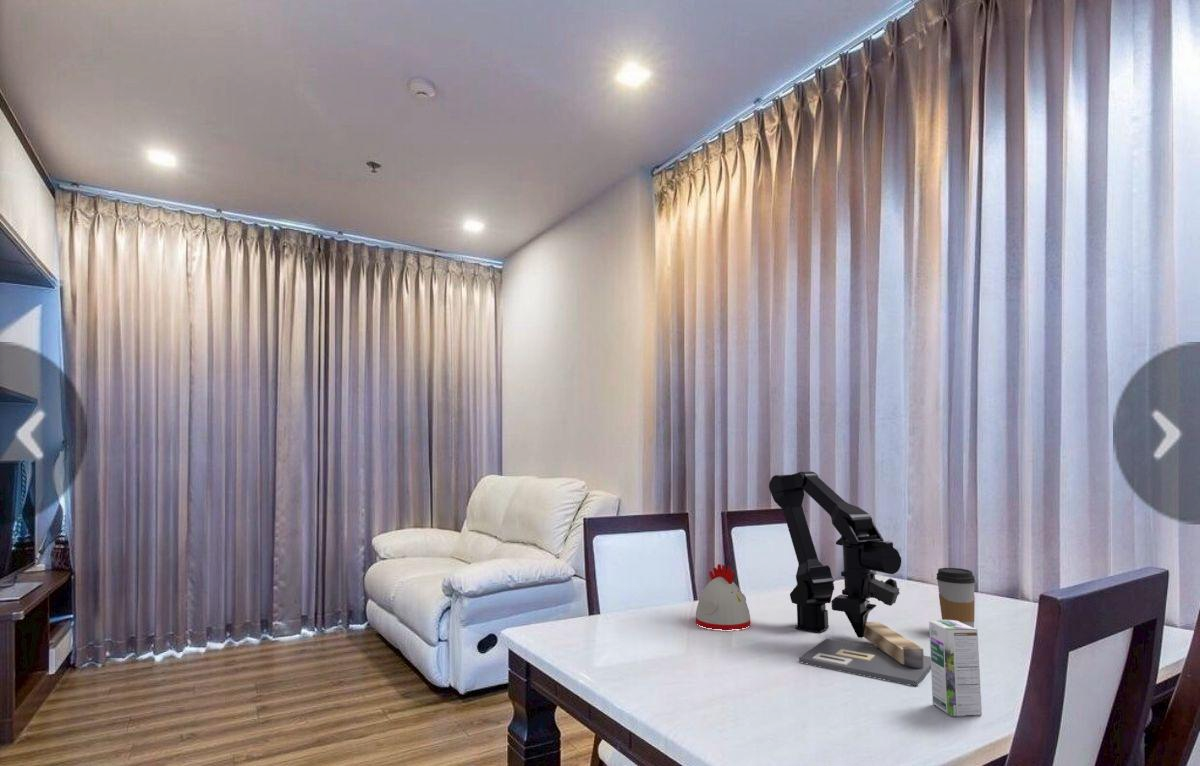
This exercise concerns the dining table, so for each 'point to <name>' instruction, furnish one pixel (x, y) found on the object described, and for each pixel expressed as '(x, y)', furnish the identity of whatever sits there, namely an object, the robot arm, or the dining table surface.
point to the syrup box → (955, 667)
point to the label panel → (864, 661)
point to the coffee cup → (956, 595)
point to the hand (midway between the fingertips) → (860, 637)
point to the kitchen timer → (722, 603)
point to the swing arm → (894, 644)
